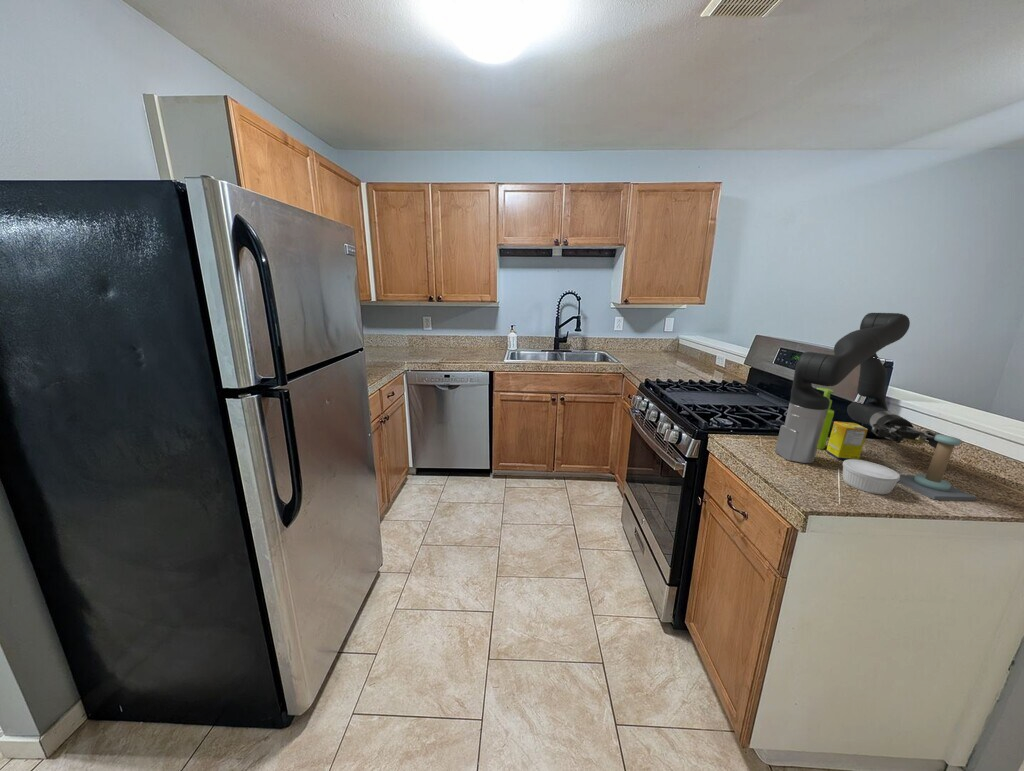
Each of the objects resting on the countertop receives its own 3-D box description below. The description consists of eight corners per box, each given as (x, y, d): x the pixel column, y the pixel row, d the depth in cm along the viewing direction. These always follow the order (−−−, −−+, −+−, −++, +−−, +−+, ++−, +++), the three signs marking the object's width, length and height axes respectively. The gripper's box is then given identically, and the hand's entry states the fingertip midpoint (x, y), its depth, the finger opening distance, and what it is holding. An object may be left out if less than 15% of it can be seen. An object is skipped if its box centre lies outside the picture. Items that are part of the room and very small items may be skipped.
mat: (933, 499, 92) (935, 496, 92) (889, 477, 103) (890, 474, 102) (975, 500, 92) (976, 496, 92) (926, 478, 103) (927, 475, 103)
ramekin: (855, 493, 94) (860, 475, 92) (829, 473, 104) (833, 456, 103) (906, 500, 92) (913, 481, 90) (874, 478, 102) (880, 461, 101)
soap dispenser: (814, 441, 127) (828, 387, 122) (828, 449, 121) (844, 392, 116) (796, 440, 128) (810, 386, 123) (810, 448, 121) (825, 391, 116)
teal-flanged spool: (932, 491, 94) (951, 442, 91) (906, 478, 100) (922, 432, 97) (956, 491, 94) (975, 443, 91) (928, 479, 100) (945, 433, 97)
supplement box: (845, 453, 118) (854, 422, 115) (858, 461, 112) (868, 429, 109) (824, 451, 119) (833, 420, 116) (837, 459, 113) (846, 427, 110)
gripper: (865, 410, 120) (890, 426, 106) (923, 418, 114) (958, 435, 100) (859, 431, 122) (883, 449, 108) (915, 439, 116) (949, 460, 102)
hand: (919, 443), depth 104 cm, fingers open, 8 cm apart
